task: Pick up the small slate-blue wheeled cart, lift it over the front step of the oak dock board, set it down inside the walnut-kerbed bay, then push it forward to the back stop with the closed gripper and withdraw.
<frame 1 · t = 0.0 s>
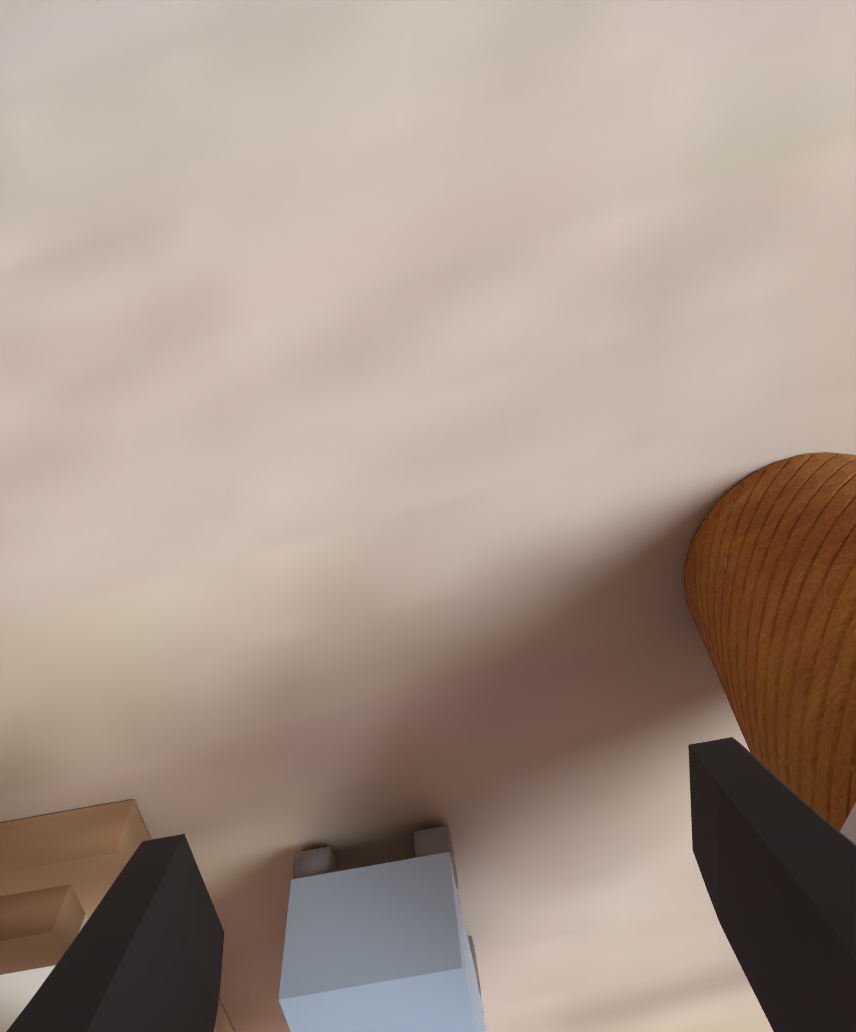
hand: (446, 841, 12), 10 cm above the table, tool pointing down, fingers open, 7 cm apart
dock: (37, 986, 27), on the table
disposable coffee cup: (795, 557, 22), on the table
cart: (391, 902, 26), on the table
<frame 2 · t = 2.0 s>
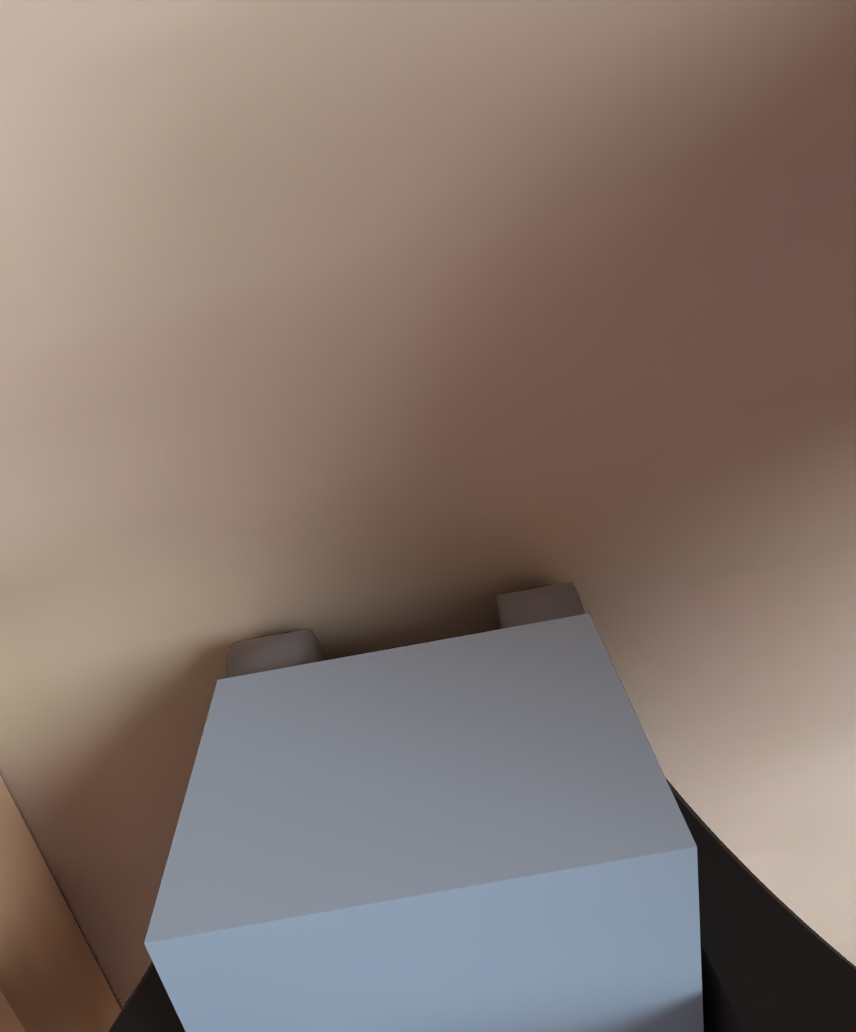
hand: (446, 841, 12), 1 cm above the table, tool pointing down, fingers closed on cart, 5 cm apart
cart: (438, 771, 13), on the table, touching gripper
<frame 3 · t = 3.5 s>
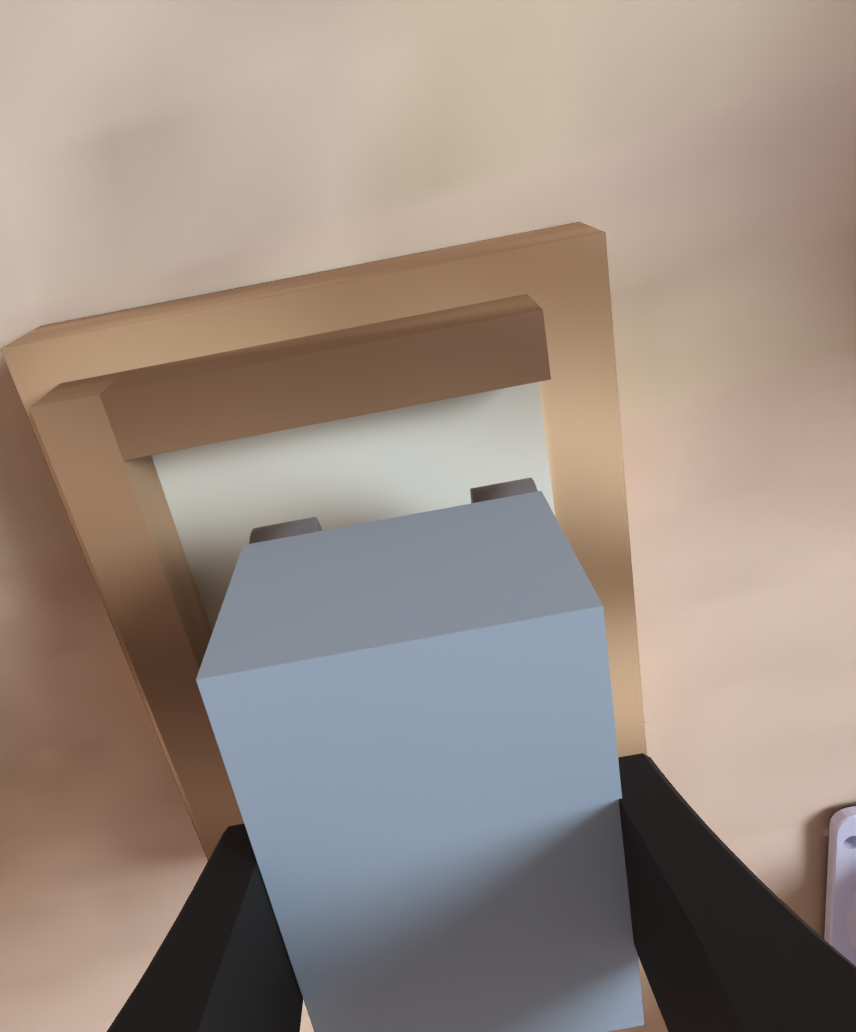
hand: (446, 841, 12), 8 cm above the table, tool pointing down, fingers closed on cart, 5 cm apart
dock: (378, 574, 19), on the table
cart: (425, 654, 15), point 4 cm above the table, touching gripper
when the fingers open (4 cm above the table, at t = 4.8 s): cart stays where it is, resting on dock.
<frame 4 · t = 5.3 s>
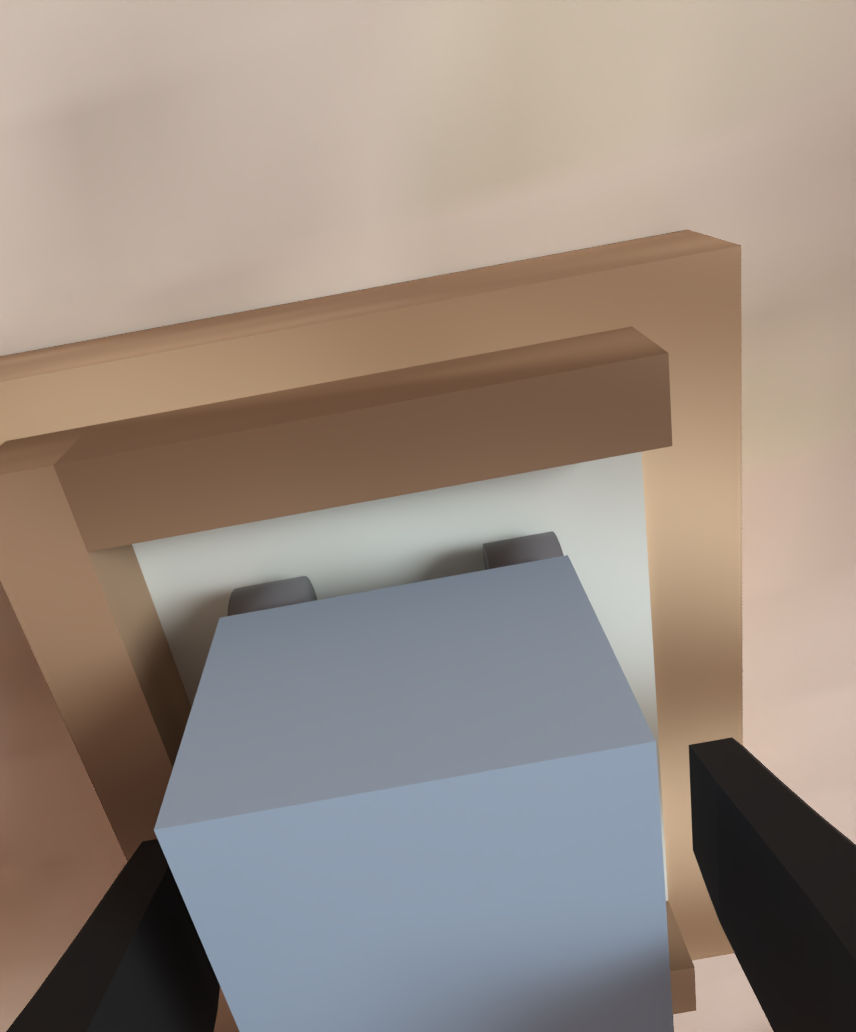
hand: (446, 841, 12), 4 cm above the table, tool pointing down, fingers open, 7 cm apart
dock: (414, 663, 16), on the table
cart: (429, 718, 14), point 2 cm above the table, touching dock
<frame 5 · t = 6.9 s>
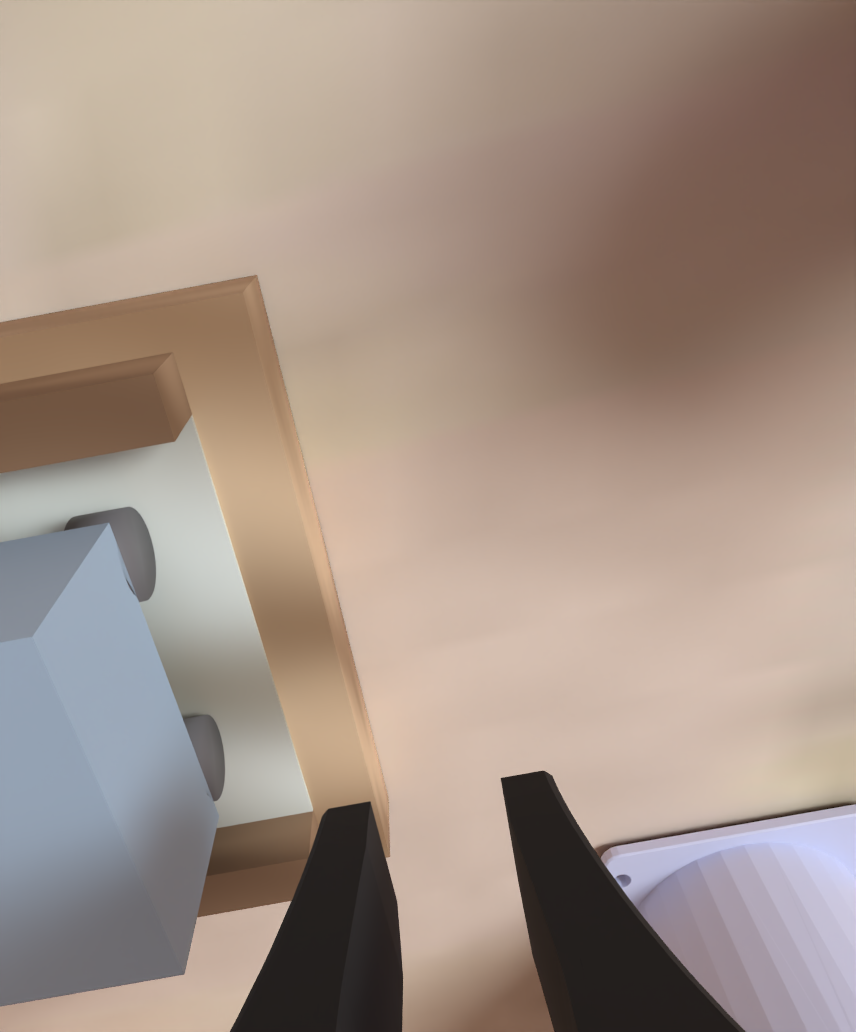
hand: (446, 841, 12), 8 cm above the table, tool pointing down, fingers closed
dock: (103, 618, 19), on the table
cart: (79, 656, 17), point 2 cm above the table, touching dock
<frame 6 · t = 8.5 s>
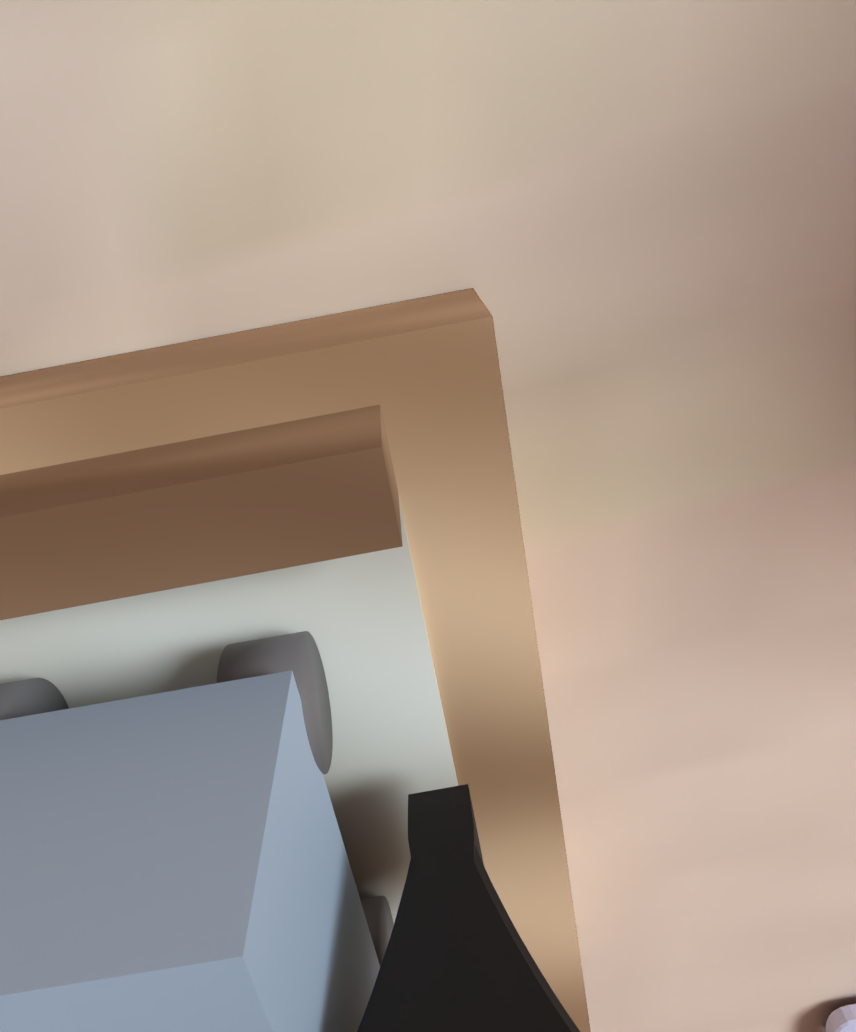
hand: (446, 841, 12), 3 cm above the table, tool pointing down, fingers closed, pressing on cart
dock: (224, 744, 14), on the table
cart: (209, 820, 12), point 2 cm above the table, touching dock, gripper
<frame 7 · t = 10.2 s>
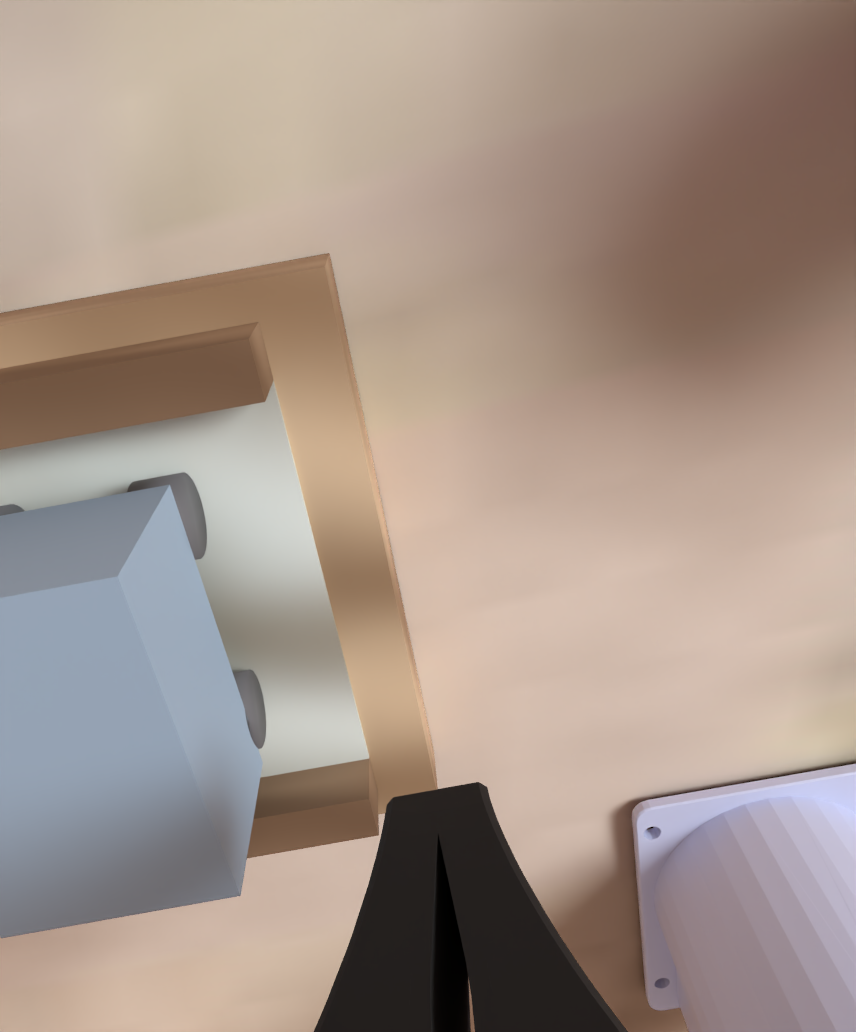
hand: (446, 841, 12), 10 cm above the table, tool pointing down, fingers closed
dock: (174, 577, 21), on the table
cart: (132, 614, 19), point 2 cm above the table, touching dock
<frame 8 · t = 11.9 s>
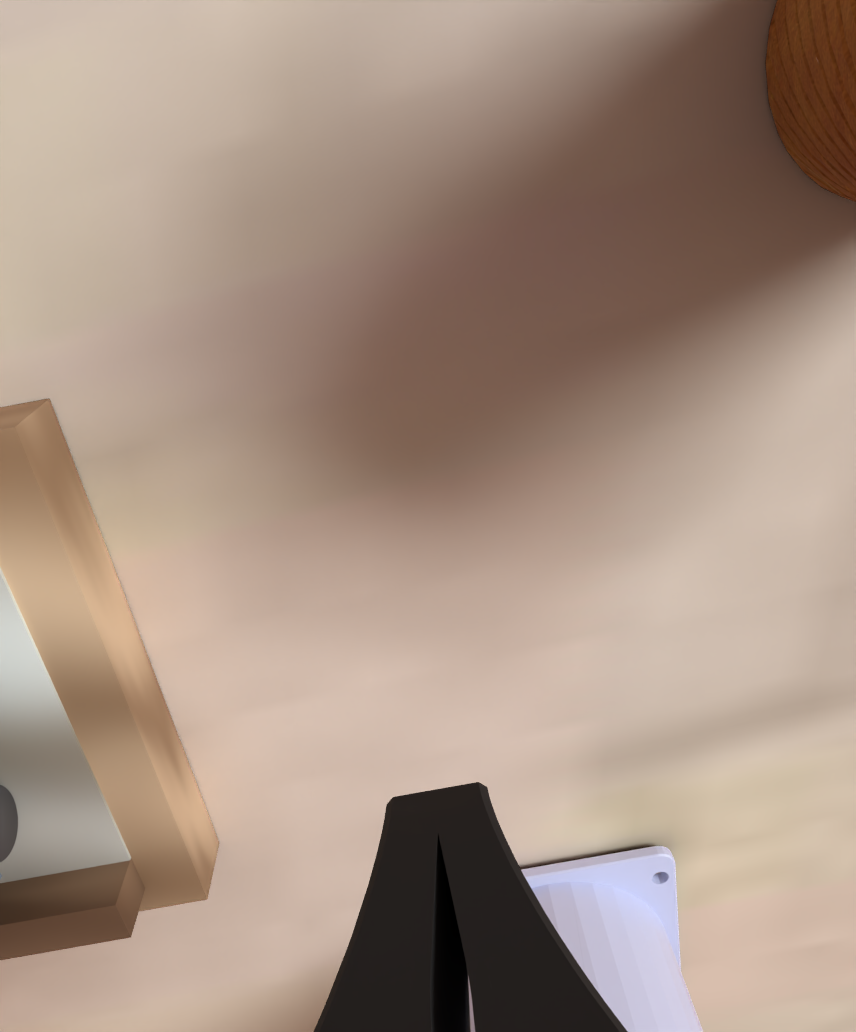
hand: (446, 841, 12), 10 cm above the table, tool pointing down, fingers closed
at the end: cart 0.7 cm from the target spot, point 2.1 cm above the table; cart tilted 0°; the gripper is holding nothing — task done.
